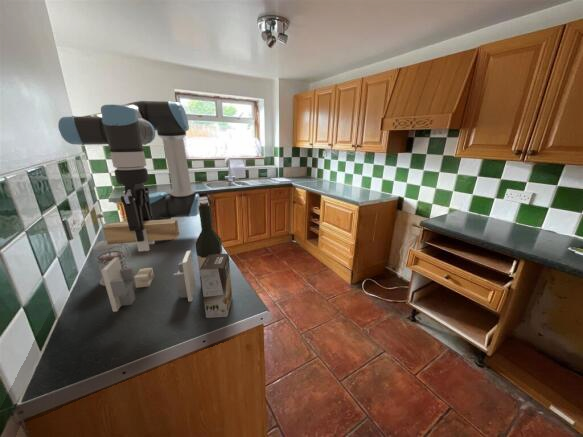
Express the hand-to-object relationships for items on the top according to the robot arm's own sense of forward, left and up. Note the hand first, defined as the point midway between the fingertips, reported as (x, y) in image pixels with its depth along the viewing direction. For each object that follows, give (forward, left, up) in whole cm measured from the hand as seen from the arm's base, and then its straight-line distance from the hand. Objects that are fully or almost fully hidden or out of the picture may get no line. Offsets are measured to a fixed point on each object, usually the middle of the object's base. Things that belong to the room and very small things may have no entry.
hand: (146, 246), depth 72 cm
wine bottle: (-5, +17, -19) cm, 26 cm away
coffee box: (+9, +20, -19) cm, 29 cm away
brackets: (0, 0, -18) cm, 18 cm away
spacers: (-11, 0, -18) cm, 21 cm away
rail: (0, 0, +3) cm, 3 cm away
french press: (-17, -18, -19) cm, 31 cm away
